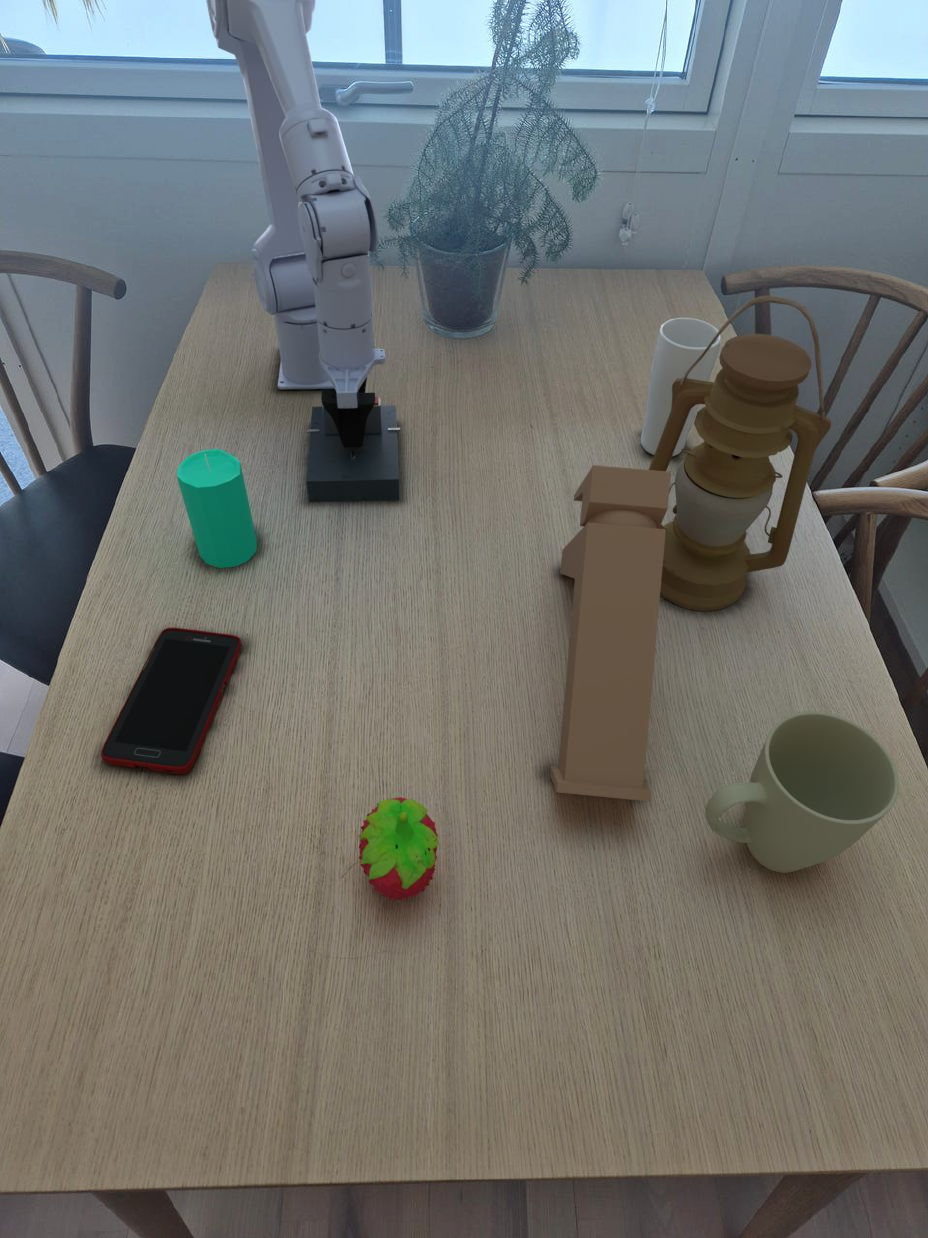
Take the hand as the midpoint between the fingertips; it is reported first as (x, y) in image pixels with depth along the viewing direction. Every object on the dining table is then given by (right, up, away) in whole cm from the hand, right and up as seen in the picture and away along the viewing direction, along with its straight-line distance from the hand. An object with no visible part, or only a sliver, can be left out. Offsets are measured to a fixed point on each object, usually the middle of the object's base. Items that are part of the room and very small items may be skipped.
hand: (353, 426), depth 95 cm
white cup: (+37, -1, +6) cm, 37 cm away
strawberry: (+8, -42, -32) cm, 53 cm away
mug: (+37, -41, -29) cm, 62 cm away
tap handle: (0, 0, 0) cm, 1 cm away
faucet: (+24, -28, -19) cm, 42 cm away
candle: (-12, -15, -9) cm, 21 cm away
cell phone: (-13, -30, -22) cm, 39 cm away
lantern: (+37, -18, -9) cm, 42 cm away
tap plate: (0, -4, +1) cm, 4 cm away
